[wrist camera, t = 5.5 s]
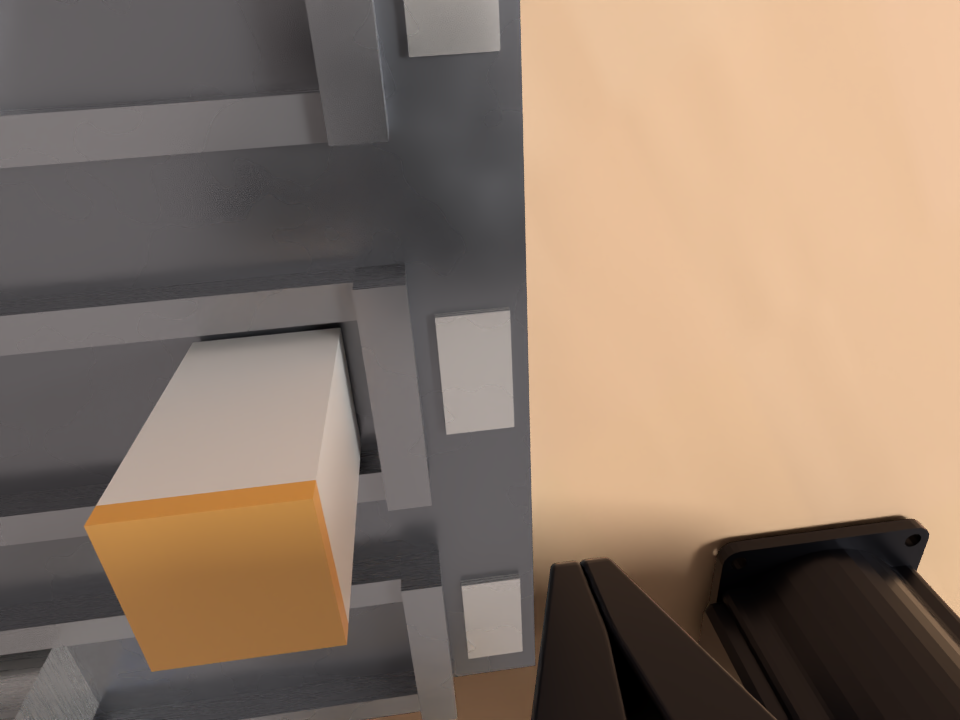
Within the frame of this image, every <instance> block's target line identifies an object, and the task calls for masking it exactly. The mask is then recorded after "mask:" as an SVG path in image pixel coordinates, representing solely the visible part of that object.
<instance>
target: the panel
mask: <svg viewBox="0 0 960 720" xmlns="http://www.w3.org/2000/svg"><path fill="white" fill-rule="evenodd" d="M331 328H341V333H342V339H343V345H344V350H345V356H346V362H347V367H348V373H349V378H350V384H351V390H352V395H353V401H354V407H355V412H356V418H357V424H358V429H359V435H360V440H361V454H360V468H359V482H358V496H357V510H356V524H355V538H354V552H353V567H352V581H351V595H350V609H349V623H348V637H347V645H343V646H336V647H328V648H321V649H314V650H306V651H299V652H292V653H285V654H277V655H270V656H263V657H256V658H248V659H241V660H234V661H227V662H219V663H212V664H205V665H197V666H190V667H183V668H176V669H168V670H161V671H154V672H151V669H150V667H149V665H148V663H147V661H146V659H145V657H144V654H143V652H142V650H141V648H140V646H139V644H138V641H137V639H136V637H135V635H134V633H133V631H132V629H131V626H130V624H129V622H128V620H127V618H126V616H125V614H124V611H123V609H122V607H121V605H120V603H119V601H118V598H117V596H116V594H115V592H114V590H113V588H112V586H111V583H110V581H109V579H108V577H107V575H106V573H105V571H104V568H103V566H102V564H101V562H100V560H99V558H98V555H97V553H96V551H95V549H94V547H93V545H92V543H91V540H90V538H89V536H88V534H87V532H86V530H85V528H84V525H85V523H86V522H87V520H88V518H89V517H90V515H91V513H92V512H93V510H94V508H95V507H96V505H97V503H98V501H99V500H100V498H101V496H102V495H103V493H104V491H105V490H106V488H107V486H108V485H109V483H110V481H111V480H112V478H113V476H114V475H115V473H116V471H117V469H118V468H119V466H120V464H121V463H122V461H123V459H124V458H125V456H126V454H127V453H128V451H129V449H130V448H131V446H132V444H133V443H134V441H135V439H136V437H137V436H138V434H139V432H140V431H141V429H142V427H143V426H144V424H145V422H146V421H147V419H148V417H149V416H150V414H151V412H152V410H153V409H154V407H155V405H156V404H157V402H158V400H159V399H160V397H161V395H162V394H163V392H164V390H165V389H166V387H167V385H168V384H169V382H170V380H171V378H172V377H173V375H174V373H175V372H176V370H177V368H178V367H179V365H180V363H181V362H182V360H183V358H184V357H185V355H186V353H187V352H188V350H189V348H190V346H191V345H192V343H193V342H202V341H212V340H222V339H232V338H242V337H252V336H262V335H272V334H282V333H292V332H302V331H312V330H322V329H331ZM528 666H535V633H534V590H533V547H532V503H531V460H530V417H529V373H528V330H527V287H526V243H525V200H524V157H523V114H522V70H521V27H520V0H0V720H365V719H372V718H379V717H385V716H392V715H399V714H406V713H413V712H419V711H421V717H422V720H455V719H457V708H456V697H455V686H454V677H458V676H465V675H472V674H479V673H486V672H493V671H500V670H507V669H514V668H521V667H528Z"/></svg>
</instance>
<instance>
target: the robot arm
mask: <svg viewBox="0 0 960 720" xmlns="http://www.w3.org/2000/svg"><path fill="white" fill-rule="evenodd" d="M928 538H929V533H928V531H927V529H925V528H924V527H923V526H922V525H921V524H920V523H919V522H918V521H917V520H915V519H903V520H896V521H888V522H881V523H873V524H865V525H858V526H850V527H843V528H835V529H827V530H820V531H812V532H805V533H797V534H789V535H782V536H774V537H767V538H759V539H751V540H744V541H736V542H732V543H728V544H727V545H725V546H723V547H722V548H721V549H720V550H719V551H718V554H717V557H716V563H715V569H714V575H713V581H712V587H711V593H710V599H709V603H708V605H707V607H706V609H705V611H704V614H703V620H702V626H701V633H700V639H699V644H698V643H697V642H696V641H695V640H694V639H693V638H692V637H691V636H690V635H689V634H688V633H687V632H686V631H685V630H683V629H682V628H681V627H680V626H679V625H678V624H677V623H676V622H675V621H674V620H673V619H672V618H671V617H670V616H669V615H668V614H667V613H666V612H665V611H664V610H663V609H662V608H661V607H660V606H659V605H658V604H657V603H656V602H654V601H653V600H652V599H651V598H650V597H649V596H648V595H647V594H646V593H645V592H644V591H643V590H642V589H641V588H640V587H639V586H638V585H637V584H636V583H635V582H634V581H633V580H632V579H631V578H630V577H629V576H628V575H627V574H625V573H624V572H623V571H622V570H621V569H620V568H619V567H618V566H617V565H616V564H615V563H614V562H613V561H612V560H611V559H609V558H607V557H600V558H592V559H584V560H582V561H581V562H580V563H579V562H577V561H569V562H561V563H554V564H553V565H552V566H551V569H550V576H549V584H548V592H547V599H546V607H545V615H544V623H543V630H542V638H541V646H540V654H539V661H538V669H537V677H536V685H535V692H534V700H533V708H532V716H531V720H960V618H959V617H958V616H957V615H956V613H955V612H954V611H953V610H952V609H951V608H950V607H949V606H948V605H947V604H946V603H945V602H944V601H943V599H942V598H941V597H940V596H939V595H938V594H937V593H936V592H935V591H934V590H933V589H932V588H931V586H930V585H929V584H928V583H927V582H926V581H925V580H924V579H923V578H922V577H921V576H920V575H919V574H918V572H917V568H918V565H919V563H920V560H921V557H922V555H923V552H924V549H925V547H926V544H927V541H928Z"/></svg>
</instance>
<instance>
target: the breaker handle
mask: <svg viewBox="0 0 960 720" xmlns="http://www.w3.org/2000/svg"><path fill="white" fill-rule="evenodd" d="M360 454H361V440H360V435H359V429H358V424H357V418H356V412H355V407H354V401H353V395H352V390H351V384H350V378H349V373H348V367H347V362H346V356H345V350H344V345H343V339H342V333H341V328H331V329H322V330H312V331H302V332H292V333H282V334H272V335H262V336H252V337H242V338H232V339H222V340H212V341H202V342H193V343H192V345H191V346H190V348H189V350H188V352H187V353H186V355H185V357H184V358H183V360H182V362H181V363H180V365H179V367H178V368H177V370H176V372H175V373H174V375H173V377H172V378H171V380H170V382H169V384H168V385H167V387H166V389H165V390H164V392H163V394H162V395H161V397H160V399H159V400H158V402H157V404H156V405H155V407H154V409H153V410H152V412H151V414H150V416H149V417H148V419H147V421H146V422H145V424H144V426H143V427H142V429H141V431H140V432H139V434H138V436H137V437H136V439H135V441H134V443H133V444H132V446H131V448H130V449H129V451H128V453H127V454H126V456H125V458H124V459H123V461H122V463H121V464H120V466H119V468H118V469H117V471H116V473H115V475H114V476H113V478H112V480H111V481H110V483H109V485H108V486H107V488H106V490H105V491H104V493H103V495H102V496H101V498H100V500H99V501H98V503H97V505H96V507H95V508H94V510H93V512H92V513H91V515H90V517H89V518H88V520H87V522H86V523H85V525H84V528H85V530H86V532H87V534H88V536H89V538H90V540H91V543H92V545H93V547H94V549H95V551H96V553H97V555H98V558H99V560H100V562H101V564H102V566H103V568H104V571H105V573H106V575H107V577H108V579H109V581H110V583H111V586H112V588H113V590H114V592H115V594H116V596H117V598H118V601H119V603H120V605H121V607H122V609H123V611H124V614H125V616H126V618H127V620H128V622H129V624H130V626H131V629H132V631H133V633H134V635H135V637H136V639H137V641H138V644H139V646H140V648H141V650H142V652H143V654H144V657H145V659H146V661H147V663H148V665H149V667H150V669H151V672H154V671H161V670H168V669H176V668H183V667H190V666H197V665H205V664H212V663H219V662H227V661H234V660H241V659H248V658H256V657H263V656H270V655H277V654H285V653H292V652H299V651H306V650H314V649H321V648H328V647H336V646H343V645H347V637H348V623H349V609H350V595H351V581H352V567H353V552H354V538H355V524H356V510H357V496H358V482H359V468H360Z"/></svg>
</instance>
